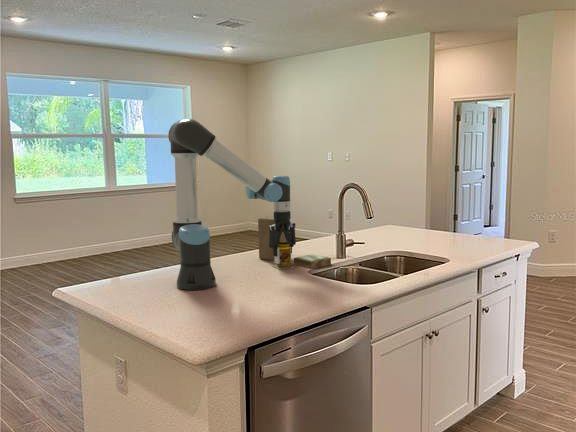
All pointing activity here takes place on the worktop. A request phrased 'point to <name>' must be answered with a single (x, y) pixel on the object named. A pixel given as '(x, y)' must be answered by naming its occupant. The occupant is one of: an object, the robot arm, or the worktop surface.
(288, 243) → the condiment
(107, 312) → the worktop surface
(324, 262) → the stand
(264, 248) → the wooden block
